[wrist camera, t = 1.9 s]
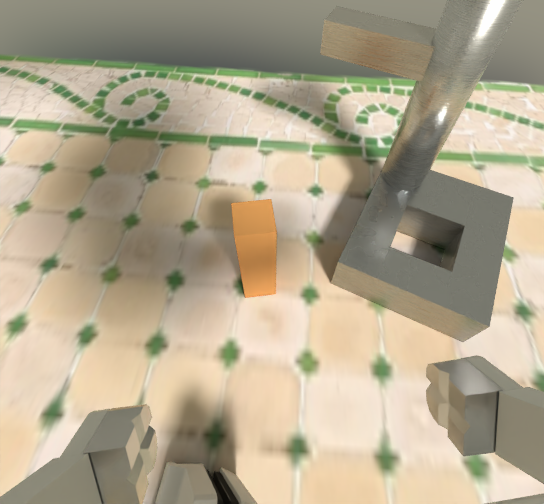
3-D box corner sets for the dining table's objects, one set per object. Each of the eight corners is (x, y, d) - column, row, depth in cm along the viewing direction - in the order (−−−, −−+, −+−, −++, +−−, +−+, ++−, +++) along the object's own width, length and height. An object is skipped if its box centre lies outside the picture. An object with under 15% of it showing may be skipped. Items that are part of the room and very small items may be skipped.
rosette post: (260, 251, 33) (242, -22, 14) (316, 161, 39) (357, -109, 20) (462, 342, 28) (851, 114, 9) (489, 222, 34) (749, -55, 16)
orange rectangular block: (245, 297, 30) (234, 236, 22) (242, 270, 32) (231, 203, 23) (275, 293, 30) (276, 231, 22) (271, 267, 32) (271, 199, 23)
